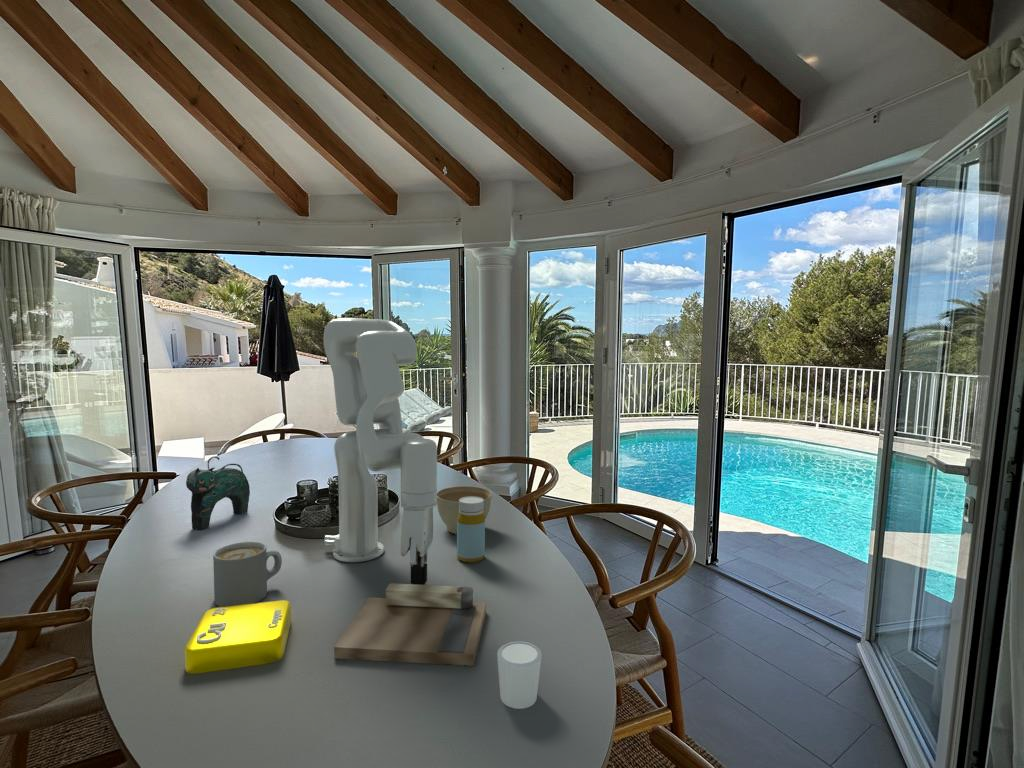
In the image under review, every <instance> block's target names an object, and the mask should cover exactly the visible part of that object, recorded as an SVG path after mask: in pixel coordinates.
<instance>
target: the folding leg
mask: <svg viewBox="0 0 1024 768" xmlns="http://www.w3.org/2000/svg"><path fill="white" fill-rule="evenodd" d="M385 598H386V605H399V606H420V607H441V608H461V609H468V608H471V607H472V606H473V602H474V589H473V587H471V586H457V585H456V586H455V585H436V584H435V585H432V584H425V585H417V584H411V583H392V582H391V583H389V584H388V586H387V587H386V589H385Z"/></svg>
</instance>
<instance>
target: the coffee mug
mask: <svg viewBox="0 0 1024 768" xmlns="http://www.w3.org/2000/svg"><path fill="white" fill-rule="evenodd" d="M212 556H213V559H212V560H213V561H212V562H213V588H214V589H213V590H214V591H213V594H214V595H213V596H214V598H213V599H214V604H215V605H217V606H218V607H228V606H237V605H246V604H255V603H258V602H260V601H262V600H263V599H264V598H265V597H266V596H267V595H268V581H269V579H272V578H273V577H274V576H275V575H277V573H279V571H280V570H281V568H282V564H283V563H282V561H283V559H282V555H281V553H280V551H278V550H277V549H267V546H266V544H265V543H262V542H259V541H240V542H235V543H231V544H227V545H225V546H222V547H220V548H218V549H216V550H215V551H214V553H213V555H212ZM270 557H273V561H274V563H273V567H272V568H270V569H268V566H267V564H268V563H267V562H268V559H269V558H270Z"/></svg>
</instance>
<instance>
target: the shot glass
mask: <svg viewBox="0 0 1024 768" xmlns="http://www.w3.org/2000/svg"><path fill="white" fill-rule="evenodd" d="M542 654H543V653H542V651H541V649H540V648H539V646H537V645H535V644H534V643H531V642H527V641H519V640H518V641H517V640H516V641H509V642H508V643H505V644H503V645H501V646H500V647H499V648H498V649H497V654H496V659H497V672H498V681H499V682H498V685H499V696H500V699H501V702H502V703H503V704H504V705H505V706H507V707H509V708H512V709H517V710H518V709H519V710H522V709H528V708H529V707H531V706H534V704H535V703H536V702H537V699H538V698H537V697H538V692H539V691H538V689H539V682H540V681H539V680H540V672H541V665H542V664H541V663H542Z"/></svg>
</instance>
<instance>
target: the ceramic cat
mask: <svg viewBox="0 0 1024 768" xmlns="http://www.w3.org/2000/svg"><path fill="white" fill-rule="evenodd" d="M214 458H215V459H217V460H218V461H220V457H218V456H212V457H211V456H210V458H209V459H208V460H207V469H200V468H199V467H197V468H195V469H193V470H192V471H190V472H189V473H188V475H187V477H186V481H185V486H186V488H187V489H188V490H189V491H190V492H191V502H190V510H191V528H192V530H198V531H203V530H206V529H207V528H208V529H209V527H210V523H211V516H212V513H213V511H214V508H215V506H216V505H217V503H218V502H220V501H221V500H223V499H224V498H227V499H228V500H230V501H231V505H232V509H233V511H232V513H233V515H238V516H240V515H241V516H242V515H245V514H247V513H248V512H249V502H250V495H251V493H250V492H251V491H250V490H251V489H250V484H249V480H248V479H247V476H246V474H245V473H244V470H243V468H242V466H241V465H240V464H239V463H228V464H226V465H224V466H222V467H220V468H218V469H216V468H215V467H211V468H210V461H211V460H212V459H214ZM228 466H236V467H238V468H239V469H240V470H239V469H238V468H230V467H228ZM214 469H216V470H214Z"/></svg>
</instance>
